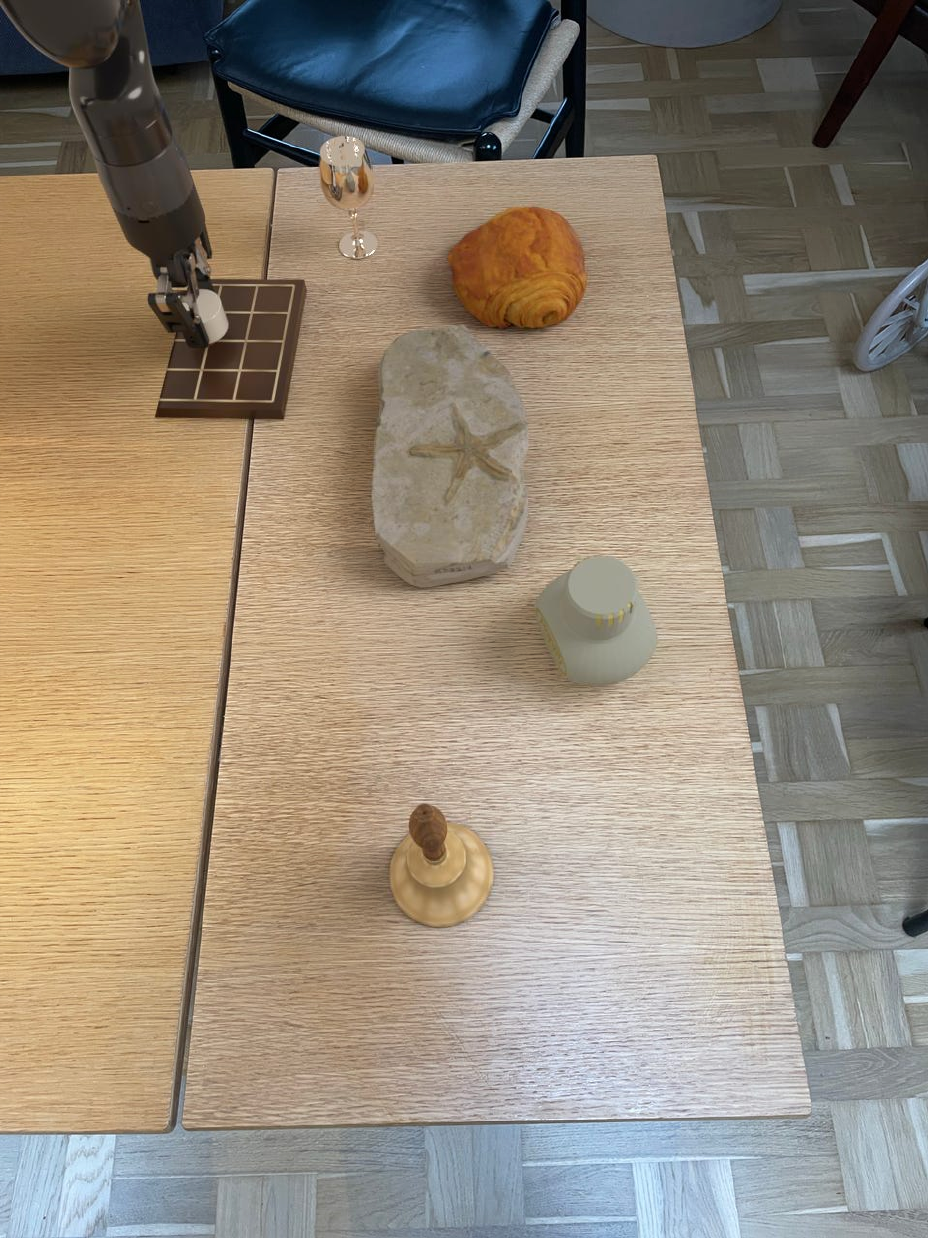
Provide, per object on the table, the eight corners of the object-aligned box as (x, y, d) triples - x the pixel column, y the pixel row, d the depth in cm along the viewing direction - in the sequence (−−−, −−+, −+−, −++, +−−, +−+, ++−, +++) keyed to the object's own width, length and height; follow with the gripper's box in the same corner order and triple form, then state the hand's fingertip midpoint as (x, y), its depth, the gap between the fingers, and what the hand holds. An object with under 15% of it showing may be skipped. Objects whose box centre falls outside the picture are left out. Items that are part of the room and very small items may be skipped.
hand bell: (367, 878, 78) (335, 822, 64) (438, 801, 80) (422, 731, 66) (444, 950, 75) (429, 908, 61) (515, 868, 78) (516, 810, 64)
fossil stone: (383, 357, 103) (377, 320, 98) (523, 353, 102) (524, 315, 98) (371, 589, 90) (364, 559, 85) (532, 586, 89) (533, 556, 85)
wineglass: (366, 269, 109) (350, 176, 98) (323, 252, 110) (303, 158, 100) (393, 236, 111) (380, 142, 101) (351, 220, 113) (334, 125, 102)
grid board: (111, 416, 101) (105, 406, 99) (147, 288, 109) (142, 277, 108) (284, 419, 100) (280, 409, 98) (306, 289, 108) (304, 278, 106)
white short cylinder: (178, 344, 101) (169, 323, 98) (187, 310, 103) (178, 288, 100) (224, 345, 100) (216, 323, 98) (232, 310, 102) (224, 288, 100)
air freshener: (525, 606, 88) (526, 547, 80) (608, 575, 90) (619, 514, 81) (574, 710, 84) (582, 660, 75) (662, 676, 85) (680, 624, 76)
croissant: (567, 245, 112) (571, 178, 106) (595, 331, 103) (601, 264, 97) (442, 258, 112) (438, 192, 105) (459, 346, 102) (456, 279, 96)
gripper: (125, 131, 90) (181, 275, 105) (89, 242, 83) (155, 379, 98) (205, 130, 89) (250, 275, 104) (176, 242, 83) (228, 379, 98)
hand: (203, 325), depth 101 cm, fingers closed on white short cylinder, 4 cm apart
